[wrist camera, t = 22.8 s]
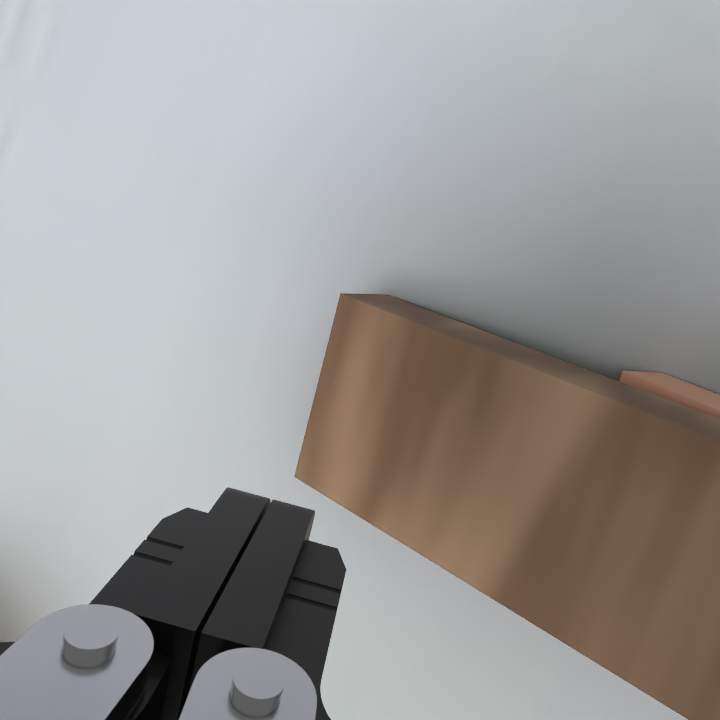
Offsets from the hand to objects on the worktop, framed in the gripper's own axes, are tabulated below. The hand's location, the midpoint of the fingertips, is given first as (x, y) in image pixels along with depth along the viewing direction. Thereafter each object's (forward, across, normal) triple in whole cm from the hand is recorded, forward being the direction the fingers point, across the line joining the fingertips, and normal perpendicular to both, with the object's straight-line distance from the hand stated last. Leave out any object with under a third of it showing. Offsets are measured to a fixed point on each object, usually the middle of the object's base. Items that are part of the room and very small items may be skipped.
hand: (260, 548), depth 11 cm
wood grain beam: (+10, 0, 0) cm, 10 cm away
